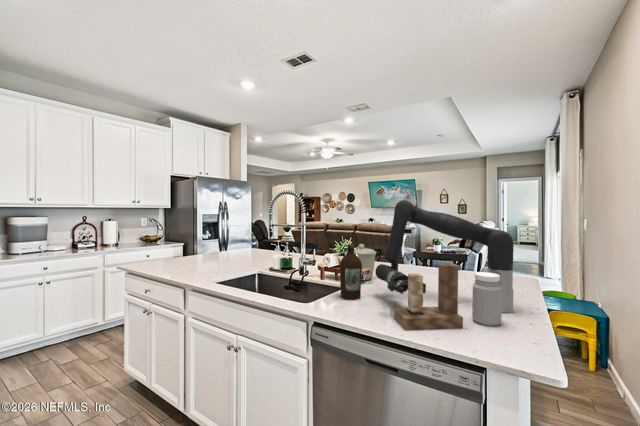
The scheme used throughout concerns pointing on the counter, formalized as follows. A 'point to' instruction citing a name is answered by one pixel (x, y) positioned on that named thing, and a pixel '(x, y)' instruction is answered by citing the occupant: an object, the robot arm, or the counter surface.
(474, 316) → the jar
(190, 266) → the counter surface
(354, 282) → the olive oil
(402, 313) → the brown wooden stand
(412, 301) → the beige wooden post
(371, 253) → the canister
